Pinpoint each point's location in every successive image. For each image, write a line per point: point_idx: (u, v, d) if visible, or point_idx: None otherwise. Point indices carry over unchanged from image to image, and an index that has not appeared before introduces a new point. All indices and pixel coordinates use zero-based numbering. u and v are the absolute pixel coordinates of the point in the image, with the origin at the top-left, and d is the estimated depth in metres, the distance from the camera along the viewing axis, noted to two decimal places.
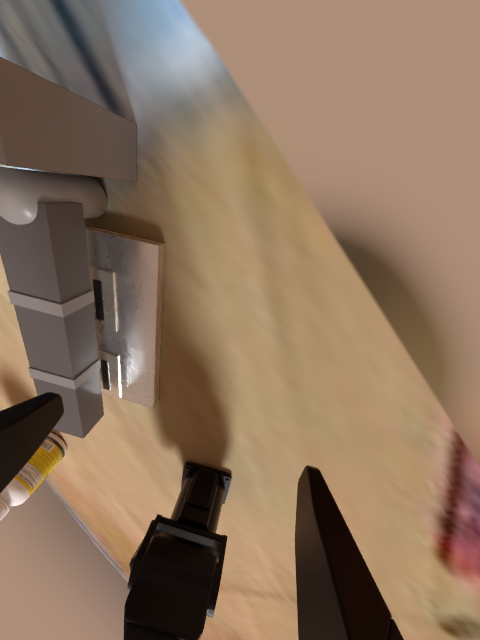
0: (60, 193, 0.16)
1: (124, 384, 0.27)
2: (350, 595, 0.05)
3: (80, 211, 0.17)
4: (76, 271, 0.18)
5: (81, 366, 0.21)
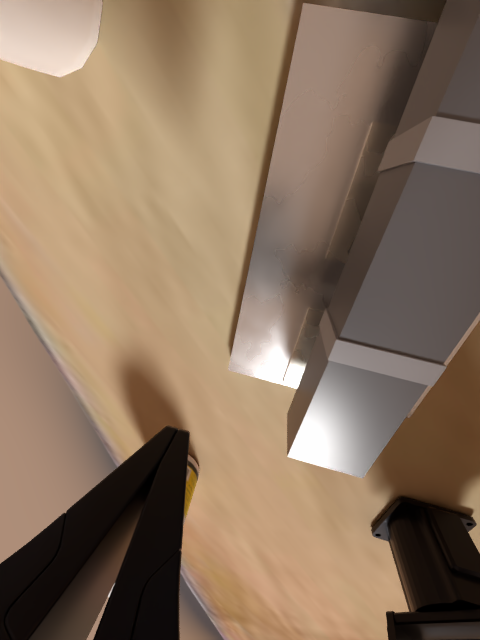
0: None
1: None
2: (147, 530, 0.05)
3: None
4: None
5: None
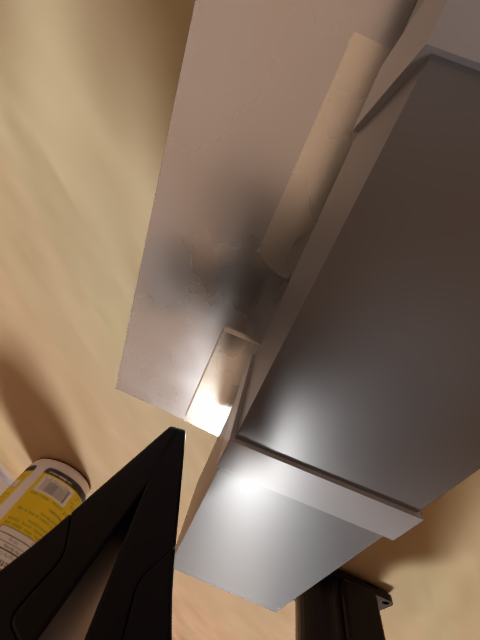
0: None
1: None
2: (141, 528, 0.05)
3: None
4: None
5: None
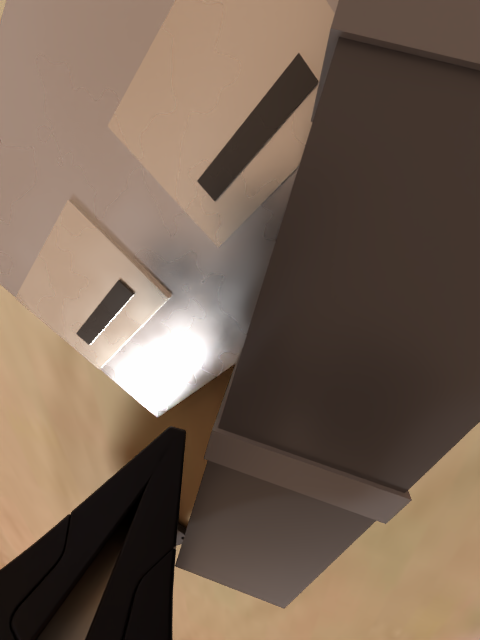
0: None
1: (131, 352, 0.12)
2: (142, 528, 0.05)
3: None
4: None
5: None
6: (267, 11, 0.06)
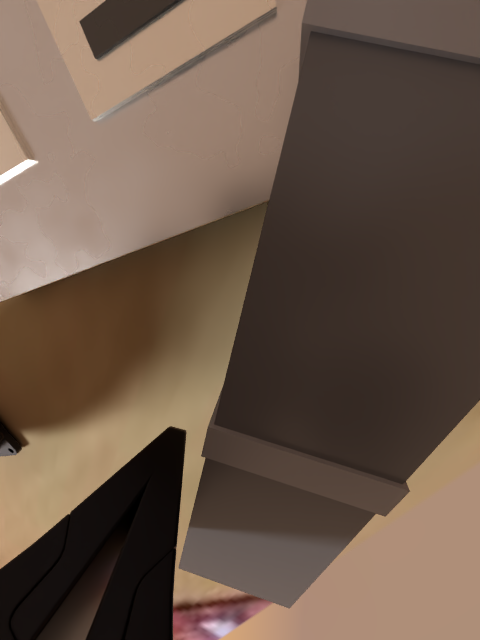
0: None
1: None
2: (142, 528, 0.05)
3: None
4: None
5: None
6: None
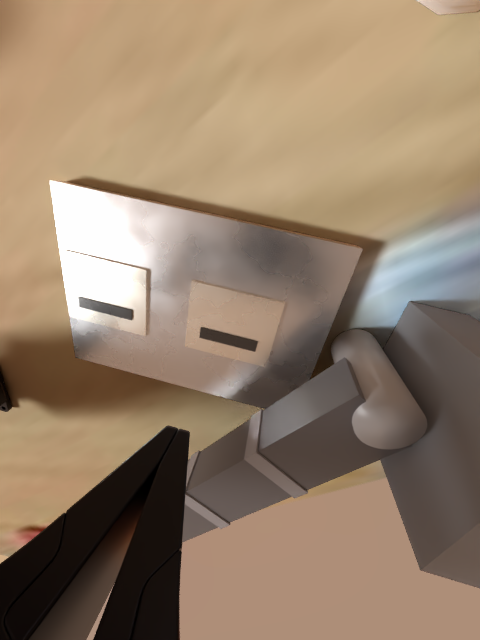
0: None
1: (99, 328, 0.19)
2: (147, 530, 0.05)
3: None
4: None
5: None
6: (261, 326, 0.16)
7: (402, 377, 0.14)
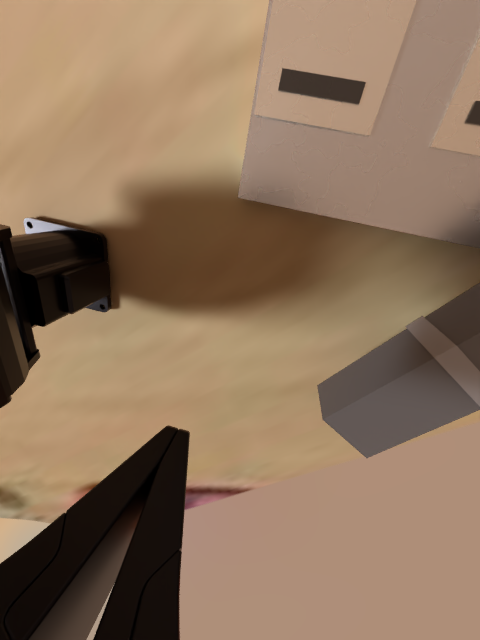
0: None
1: (292, 135, 0.13)
2: (147, 530, 0.05)
3: None
4: None
5: None
6: None
7: None
